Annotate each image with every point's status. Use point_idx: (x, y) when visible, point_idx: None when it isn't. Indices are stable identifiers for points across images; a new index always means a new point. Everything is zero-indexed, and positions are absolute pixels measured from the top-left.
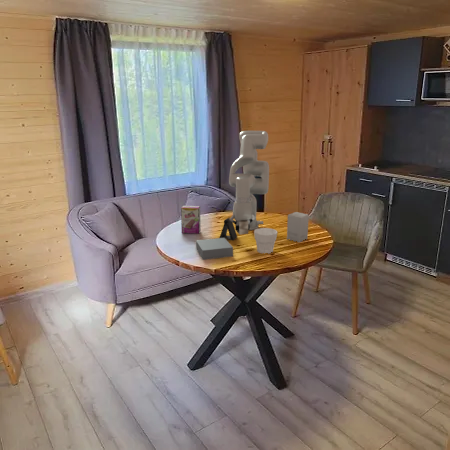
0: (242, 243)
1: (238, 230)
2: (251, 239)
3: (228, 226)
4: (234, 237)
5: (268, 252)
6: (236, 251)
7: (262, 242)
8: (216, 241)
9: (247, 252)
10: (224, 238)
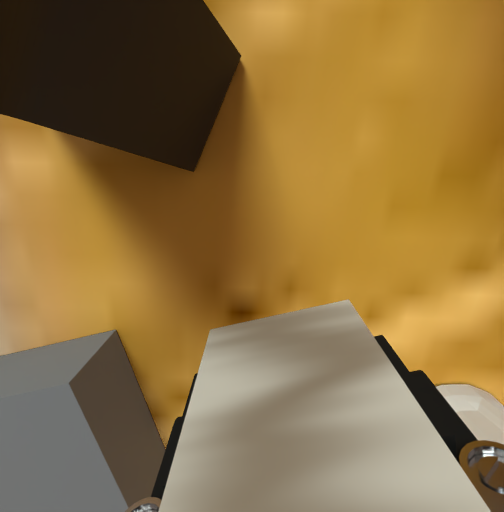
0: (283, 263)
1: None
2: (396, 140)
3: (32, 120)
4: (203, 126)
5: None
6: None
7: None
8: (2, 482)
9: None
10: (72, 405)
